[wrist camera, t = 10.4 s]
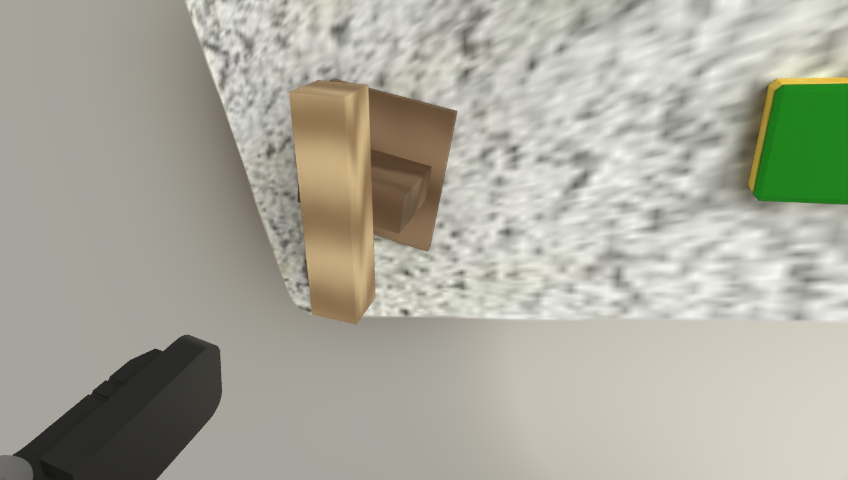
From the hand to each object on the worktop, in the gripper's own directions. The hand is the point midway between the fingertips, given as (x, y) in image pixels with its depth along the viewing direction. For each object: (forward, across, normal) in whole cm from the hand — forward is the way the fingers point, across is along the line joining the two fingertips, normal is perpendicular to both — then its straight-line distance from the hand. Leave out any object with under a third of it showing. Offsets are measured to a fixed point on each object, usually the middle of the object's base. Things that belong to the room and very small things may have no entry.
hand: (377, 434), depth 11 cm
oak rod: (+24, +11, +8) cm, 27 cm away
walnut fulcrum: (+30, +11, +8) cm, 33 cm away
